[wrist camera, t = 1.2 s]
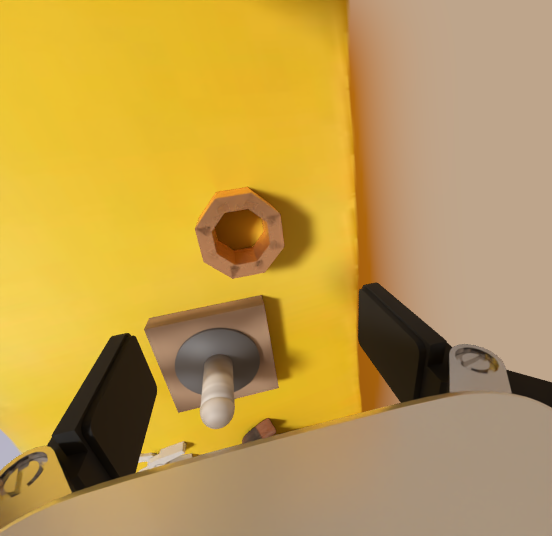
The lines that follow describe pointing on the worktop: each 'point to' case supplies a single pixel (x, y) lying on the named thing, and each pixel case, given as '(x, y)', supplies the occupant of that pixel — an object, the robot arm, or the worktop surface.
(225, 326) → the shaft block
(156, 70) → the worktop surface
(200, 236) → the ring
